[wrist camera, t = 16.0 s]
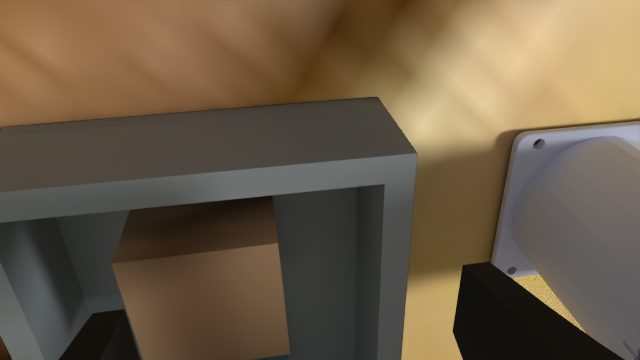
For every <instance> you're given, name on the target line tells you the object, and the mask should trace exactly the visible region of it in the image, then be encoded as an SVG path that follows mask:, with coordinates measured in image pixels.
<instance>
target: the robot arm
mask: <svg viewBox="0 0 640 360" xmlns="http://www.w3.org/2000/svg"><path fill="white" fill-rule="evenodd" d="M538 139H540V141H539V143H538V144H537V145H535V146H533V144H534V142H535V141H536V140H538ZM510 267H511V268H510ZM509 268H510V269H509ZM535 274H539V275H540V276H541V277H542V278H543V280H544V281H545V282H546V283H547V285H548V286H549V287H550V288H551V290H552V291H553V292H554V293H555V295H556V296H557V297H558V298H559V300H560V301H561V302H562V303H563V305H564V306H565V307H566V308H567V309H568V311H569V312H570V313H571V314H572V316H573V317H574V318H575V319H576V321H577V322H578V323H579V324H580V326H581V327H582V328H583V329H584V331H585V332H586V333H587V334H588V335H587V334H586V333H584V332H583V331H582V330H580V329H579V328H577V327H576V326H575V325H573V324H572V323H570V322H569V321H568V320H566V319H565V318H563V317H562V316H561V315H559V314H558V313H557V312H555V311H554V310H553V309H551V308H550V307H549V306H547V305H546V304H545V303H543V302H542V301H541V300H539V299H538V298H537V297H535V296H534V295H533V294H531V293H530V292H529V291H527V290H526V289H525V288H523V287H522V286H521V285H519V284H518V283H517V282H516V281H514V280H513V279H512V278H511V277H519V276H527V275H535ZM453 333H454V336H455V339H456V342H457V344H458V347H459V350H460V353H461V355H462V358H463V360H640V121H634V122H623V123H612V124H601V125H590V126H580V127H569V128H558V129H547V130H536V131H526V132H522V133H520V134H519V135H517V137H516V138H515V139H514V142H513V146H512V151H511V157H510V162H509V168H508V173H507V178H506V184H505V189H504V194H503V200H502V205H501V211H500V216H499V221H498V227H497V232H496V237H495V243H494V248H493V254H492V259H491V263H490V262H484V263H476V264H468V265H463V267H462V274H461V280H460V287H459V294H458V300H457V307H456V313H455V320H454V326H453ZM59 360H140V357H139V354H138V351H137V348H136V344H135V341H134V338H133V335H132V332H131V328H130V325H129V322H128V319H127V316H126V312H125V309H121V310H113V311H105V312H98V313H93V314H92V315H91V316H90V317H89V318H88V320H87V321H86V323H85V324H84V325H83V327H82V328H81V329H80V331H79V332H78V334H77V335H76V336H75V338H74V339H73V340H72V342H71V343H70V345H69V346H68V347H67V349H66V350H65V351H64V353H63V354H62V356H61V357H60V358H59Z"/></svg>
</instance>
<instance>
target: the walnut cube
mask: <svg viewBox="0 0 640 360" xmlns="http://www.w3.org/2000/svg"><path fill="white" fill-rule="evenodd" d="M111 265H112V268H113V271H114V274H115V277H116V280H117V283H118V286H119V289H120V292H121V295H122V298H123V301H124V304H125V307H126V310H127V313H128V316H129V319H130V322H131V325H132V328H133V331H134V334H135V337H136V340H137V343H138V346H139V349H140V352H141V355H142V358H143V360H253V359H260V358H267V357H273V356H280V355H287V354H290V347H289V338H288V329H287V320H286V311H285V301H284V292H283V283H282V274H281V265H280V256H279V246H278V238H277V229H276V221H275V213H274V204H273V196H272V195H270V196H260V197H250V198H240V199H231V200H221V201H211V202H201V203H191V204H181V205H171V206H161V207H151V208H141V209H131V210H130V211H129V214H128V217H127V220H126V222H125V225H124V228H123V231H122V234H121V237H120V240H119V243H118V246H117V249H116V252H115V255H114V258H113V260H112V263H111Z"/></svg>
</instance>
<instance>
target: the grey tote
mask: <svg viewBox="0 0 640 360" xmlns="http://www.w3.org/2000/svg"><path fill="white" fill-rule="evenodd" d="M416 164H417V152H416V150H415V149H414V148H413V146H412V145H411V143H410V142H409V141H408V139H407V138H406V136H405V135H404V133H403V132H402V131H401V129H400V128H399V126H398V125H397V123H396V122H395V121H394V119H393V118H392V116H391V115H390V114H389V112H388V111H387V109H386V108H385V106H384V105H383V104H382V102H381V101H380V99H379V98H378V97H371V98H359V99H346V100H334V101H321V102H309V103H296V104H284V105H272V106H259V107H247V108H234V109H222V110H209V111H197V112H185V113H172V114H160V115H147V116H135V117H122V118H110V119H98V120H85V121H73V122H60V123H48V124H36V125H23V126H11V127H4V128H3V129H2V130H1V131H0V336H1V338H2V340H3V342H4V344H5V346H6V348H7V350H8V352H9V354H10V356H11V358H12V360H59V358H60V357H61V356H62V354H63V353H64V351H65V350H66V349H67V347H68V346H69V345H70V343H71V342H72V340H73V339H74V338H75V336H76V335H77V334H78V332H79V331H80V329H81V328H82V327H83V325H84V324H85V323H86V321H87V320H88V318H89V317H90V316H91V315H92V314H93V313H98V312H105V311H113V310H121V309H125V312H126V316H127V319H128V322H129V325H130V328H131V332H132V335H133V338H134V341H135V344H136V348H137V351H138V354H139V357H140V360H143V358H142V355H141V352H140V349H139V346H138V343H137V340H136V337H135V334H134V331H133V328H132V325H131V322H130V319H129V316H128V313H127V310H126V307H125V304H124V301H123V298H122V295H121V292H120V289H119V286H118V283H117V280H116V277H115V274H114V271H113V268H112V265H111V263H112V260H113V258H114V255H115V252H116V249H117V246H118V243H119V240H120V237H121V234H122V231H123V228H124V225H125V222H126V220H127V217H128V214H129V211H130V210H131V209H141V208H151V207H161V206H171V205H181V204H191V203H201V202H211V201H221V200H231V199H240V198H250V197H260V196H270V195H272V196H273V204H274V213H275V221H276V229H277V238H278V246H279V256H280V265H281V274H282V283H283V292H284V301H285V311H286V320H287V329H288V338H289V347H290V354H288V360H401V354H402V341H403V329H404V316H405V303H406V291H407V278H408V265H409V253H410V240H411V227H412V215H413V202H414V189H415V177H416Z"/></svg>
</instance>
